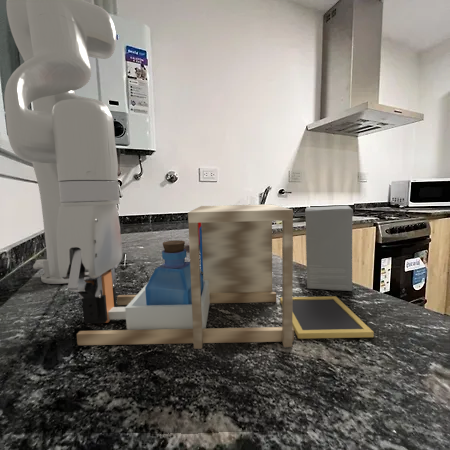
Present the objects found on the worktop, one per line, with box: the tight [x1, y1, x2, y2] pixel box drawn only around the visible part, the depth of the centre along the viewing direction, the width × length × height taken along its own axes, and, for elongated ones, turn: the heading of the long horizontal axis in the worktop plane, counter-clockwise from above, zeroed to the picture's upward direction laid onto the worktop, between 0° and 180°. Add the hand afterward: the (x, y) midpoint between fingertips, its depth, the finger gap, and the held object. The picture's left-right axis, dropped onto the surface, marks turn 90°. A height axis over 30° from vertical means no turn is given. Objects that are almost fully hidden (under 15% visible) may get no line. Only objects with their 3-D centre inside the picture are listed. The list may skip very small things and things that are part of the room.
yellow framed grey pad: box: [279, 295, 375, 340], centre depth 39 cm, size 10×12×1 cm
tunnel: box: [187, 203, 294, 350], centre depth 38 cm, size 12×15×17 cm
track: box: [76, 291, 295, 346], centre depth 39 cm, size 28×13×2 cm, turn 89°
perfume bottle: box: [145, 239, 203, 305], centre depth 38 cm, size 6×6×12 cm
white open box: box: [87, 272, 211, 330], centre depth 39 cm, size 18×10×7 cm, turn 89°
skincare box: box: [304, 205, 354, 292], centre depth 51 cm, size 8×7×16 cm
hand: (101, 316), depth 39 cm, fingers closed on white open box, 2 cm apart
